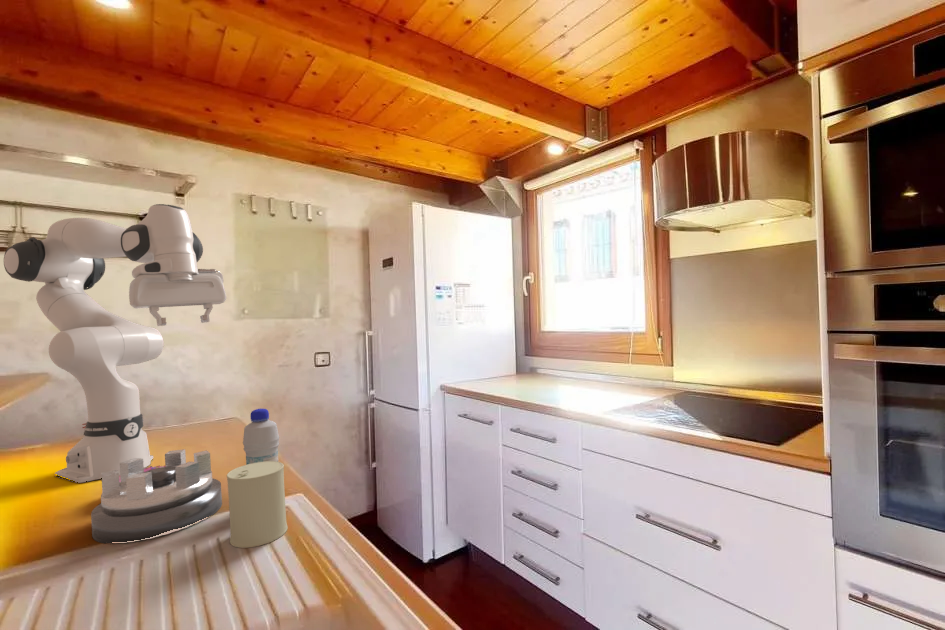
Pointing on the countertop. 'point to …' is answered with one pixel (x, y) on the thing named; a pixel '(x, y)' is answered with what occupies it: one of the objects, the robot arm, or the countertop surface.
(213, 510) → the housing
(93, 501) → the countertop surface
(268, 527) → the can
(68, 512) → the countertop surface
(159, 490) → the toothed metal gear
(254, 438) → the bottle
